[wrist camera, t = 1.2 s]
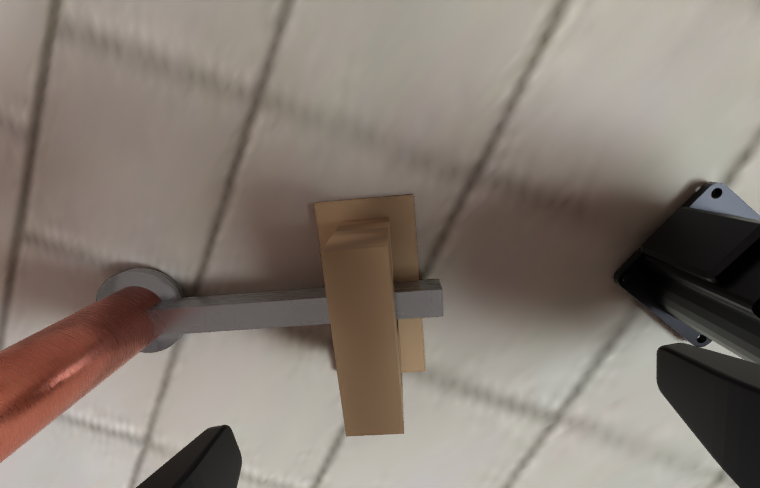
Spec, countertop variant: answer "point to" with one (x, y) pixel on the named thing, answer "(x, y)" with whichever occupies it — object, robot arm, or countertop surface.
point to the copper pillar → (147, 338)
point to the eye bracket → (370, 306)
